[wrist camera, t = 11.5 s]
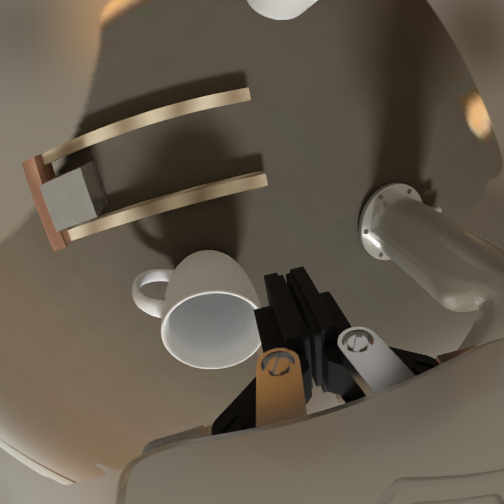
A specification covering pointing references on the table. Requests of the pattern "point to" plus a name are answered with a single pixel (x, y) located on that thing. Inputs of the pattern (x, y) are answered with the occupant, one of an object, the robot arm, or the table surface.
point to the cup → (280, 8)
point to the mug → (204, 310)
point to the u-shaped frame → (42, 171)
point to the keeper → (74, 196)
